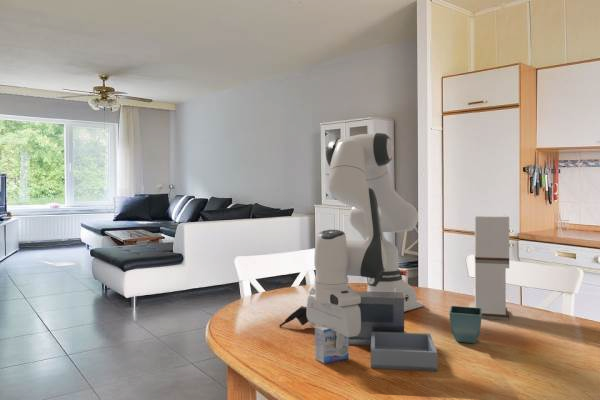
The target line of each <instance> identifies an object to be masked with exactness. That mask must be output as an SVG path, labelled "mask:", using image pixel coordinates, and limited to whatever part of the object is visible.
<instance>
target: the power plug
mask: <svg viewBox="0 0 600 400" xmlns="http://www.w3.org/2000/svg"><path fill="white" fill-rule="evenodd" d="M306 312H307V306H303V305H301V306H300V307H298V309H296V310H295V311H293V312H292V313H291V314H290V315H289V316H288V317H287V318H285V319H284V321H283V322H282V323H280V324H279V325H278V326H279V327H280V328H282V327H283V326H284V325H285V324H288V323H290V322H291V321H293V320H296V319H297V321H298V322H299V323H300V324H301V326H304V325H306V324H307V323H308V324H309V326H310V327H311V329H315V327H316V325H317V324H316V323H313V322H311V321H309V320H308V319H307V316H306Z"/></svg>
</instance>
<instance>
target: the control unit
mask: <svg viewBox="0 0 600 400" xmlns="http://www.w3.org/2000/svg"><path fill="white" fill-rule="evenodd" d="M354 291H355V292H356V293H357V294H359V295H360V297H361V303H360V304H357V305H358V306H359V308H360V312H361V331H360V333H359V335H357V336H353V337H349V345H352V346H353V345H354V346H355V345H359V346H371V332H397V333H407V331H406V330H405V312H404V296H403V292H367V290H365V291H360V290H358V291H357V290H354Z"/></svg>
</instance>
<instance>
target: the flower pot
mask: <svg viewBox="0 0 600 400" xmlns="http://www.w3.org/2000/svg"><path fill="white" fill-rule="evenodd" d="M448 313H449V322H450V330H451V333H452V336H453V338H454V340H455V341H456V342H458V343H467V344H475V343H476V342H477V340H478V338H479V337H480V332H481V326H482V325H481V324H482V319H483V318H482V309H481V308H475V307H472V306H471V307H469V306H460V305H459V306H458V305H457V306H456V305H451V306H450V309H449V312H448Z"/></svg>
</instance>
